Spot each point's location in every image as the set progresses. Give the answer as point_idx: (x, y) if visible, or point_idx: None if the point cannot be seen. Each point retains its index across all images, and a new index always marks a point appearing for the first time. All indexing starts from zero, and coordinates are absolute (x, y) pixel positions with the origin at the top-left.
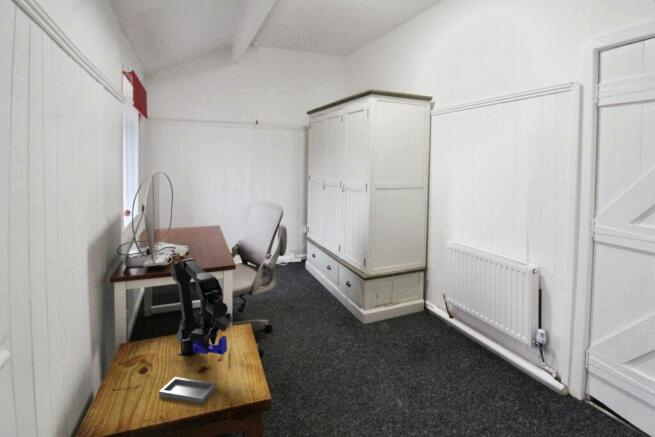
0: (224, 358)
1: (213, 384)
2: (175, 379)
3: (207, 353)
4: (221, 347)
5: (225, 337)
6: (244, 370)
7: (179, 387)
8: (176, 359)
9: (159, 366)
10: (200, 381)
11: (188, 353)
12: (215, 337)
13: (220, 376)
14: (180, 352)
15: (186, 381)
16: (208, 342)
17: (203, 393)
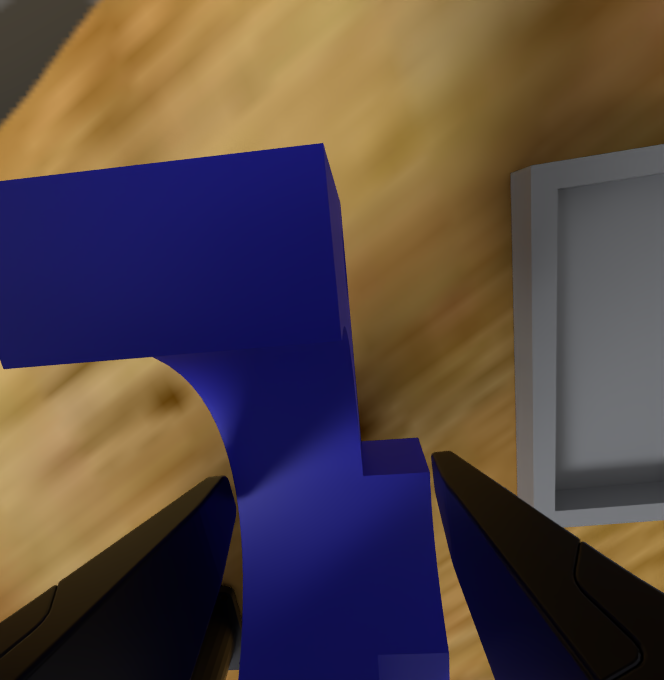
0: (137, 376)
1: (551, 174)
2: (554, 508)
3: (404, 441)
4: (338, 221)
5: (27, 184)
6: (191, 101)
7: (589, 433)
8: None
9: None
10: (539, 317)
11: (224, 620)
12: (142, 566)
13: (351, 249)
14: (236, 664)
15: (551, 424)
16: (565, 570)
17: (622, 213)
